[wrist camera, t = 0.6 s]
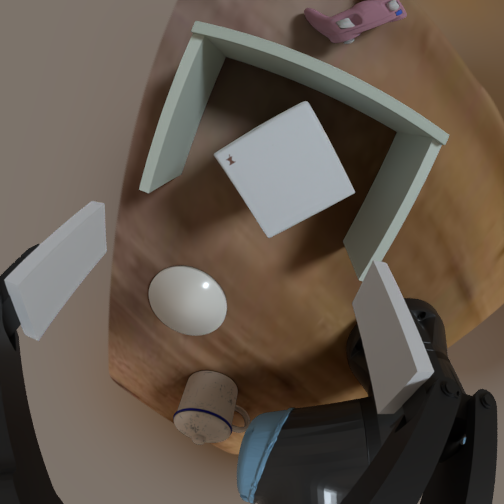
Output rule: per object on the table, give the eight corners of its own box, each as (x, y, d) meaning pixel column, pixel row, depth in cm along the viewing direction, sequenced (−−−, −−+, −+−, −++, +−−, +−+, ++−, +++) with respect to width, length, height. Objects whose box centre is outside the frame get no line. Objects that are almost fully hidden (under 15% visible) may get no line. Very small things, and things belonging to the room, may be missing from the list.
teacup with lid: (181, 389, 49) (162, 441, 38) (195, 360, 45) (175, 418, 34) (242, 412, 50) (233, 465, 39) (264, 387, 46) (257, 446, 35)
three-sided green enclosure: (220, 46, 26) (195, 20, 18) (407, 129, 28) (449, 135, 19) (173, 171, 33) (135, 191, 24) (349, 244, 34) (368, 286, 26)
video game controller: (317, 43, 26) (344, 54, 22) (297, 11, 23) (321, 13, 19) (385, 13, 23) (421, 21, 19) (369, -19, 20) (405, -18, 16)
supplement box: (272, 198, 33) (265, 242, 22) (237, 140, 31) (208, 152, 19) (332, 167, 31) (358, 195, 19) (298, 106, 29) (306, 97, 17)
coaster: (243, 315, 40) (242, 318, 39) (183, 342, 43) (182, 344, 43) (193, 250, 37) (191, 252, 36) (135, 287, 40) (133, 289, 40)
